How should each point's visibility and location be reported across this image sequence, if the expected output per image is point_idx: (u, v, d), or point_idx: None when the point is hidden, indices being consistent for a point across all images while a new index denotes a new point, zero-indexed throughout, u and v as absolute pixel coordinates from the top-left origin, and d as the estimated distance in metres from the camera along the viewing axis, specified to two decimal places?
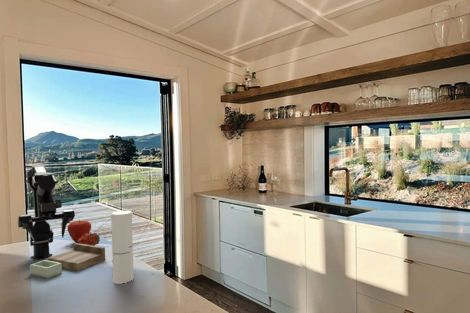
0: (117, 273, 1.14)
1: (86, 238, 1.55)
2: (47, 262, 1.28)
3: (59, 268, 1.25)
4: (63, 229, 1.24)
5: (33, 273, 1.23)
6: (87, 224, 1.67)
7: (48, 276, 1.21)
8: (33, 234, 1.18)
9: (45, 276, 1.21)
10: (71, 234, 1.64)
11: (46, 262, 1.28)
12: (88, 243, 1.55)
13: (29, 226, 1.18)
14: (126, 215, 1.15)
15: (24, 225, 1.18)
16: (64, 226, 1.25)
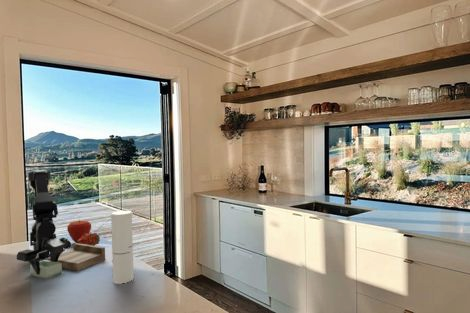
0: (117, 273, 1.14)
1: (86, 238, 1.55)
2: (47, 262, 1.28)
3: (59, 268, 1.25)
4: None
5: (33, 273, 1.23)
6: (87, 224, 1.67)
7: (48, 276, 1.21)
8: (38, 268, 1.21)
9: (45, 276, 1.21)
10: (71, 234, 1.64)
11: (46, 262, 1.28)
12: (88, 243, 1.55)
13: (36, 262, 1.20)
14: (126, 215, 1.15)
15: None
16: (57, 259, 1.28)
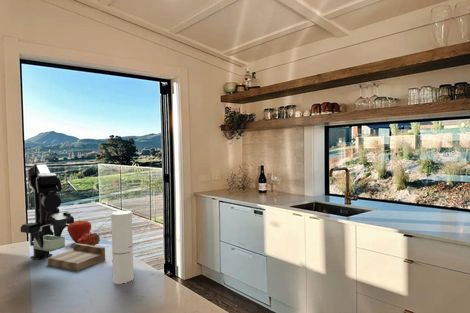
0: (117, 273, 1.14)
1: (86, 238, 1.55)
2: (50, 237, 1.29)
3: (62, 242, 1.26)
4: None
5: (37, 247, 1.25)
6: (87, 224, 1.67)
7: (51, 249, 1.22)
8: (42, 242, 1.23)
9: (48, 249, 1.22)
10: (71, 234, 1.64)
11: (49, 237, 1.29)
12: (88, 243, 1.55)
13: (40, 235, 1.21)
14: (126, 215, 1.15)
15: None
16: (60, 233, 1.29)
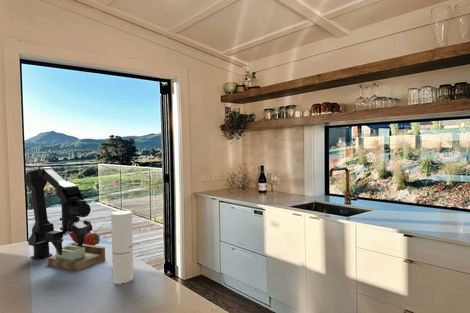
0: (117, 273, 1.14)
1: (86, 238, 1.55)
2: (71, 247, 1.38)
3: (83, 252, 1.35)
4: (81, 242, 1.39)
5: (59, 256, 1.33)
6: None
7: (73, 259, 1.30)
8: (61, 249, 1.30)
9: (70, 259, 1.30)
10: (71, 234, 1.64)
11: (70, 247, 1.38)
12: (88, 243, 1.55)
13: (59, 243, 1.28)
14: (126, 215, 1.15)
15: None
16: (83, 239, 1.39)
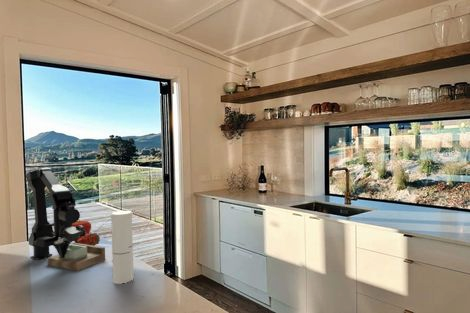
0: (117, 273, 1.14)
1: (86, 238, 1.55)
2: (73, 246, 1.39)
3: (85, 251, 1.35)
4: (65, 251, 1.31)
5: None
6: (87, 224, 1.67)
7: (75, 258, 1.31)
8: (62, 252, 1.30)
9: (73, 258, 1.31)
10: None
11: (72, 246, 1.39)
12: (88, 243, 1.55)
13: (61, 246, 1.29)
14: (126, 215, 1.15)
15: None
16: (66, 248, 1.32)
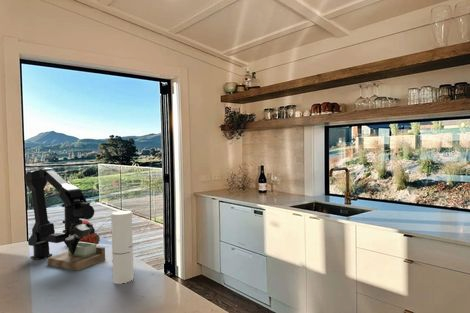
0: (117, 273, 1.14)
1: (86, 238, 1.55)
2: (82, 243, 1.43)
3: (94, 248, 1.39)
4: (74, 248, 1.35)
5: None
6: None
7: (85, 255, 1.35)
8: (73, 249, 1.35)
9: (82, 255, 1.35)
10: None
11: (81, 243, 1.43)
12: None
13: (72, 242, 1.33)
14: (126, 215, 1.15)
15: None
16: (76, 245, 1.36)
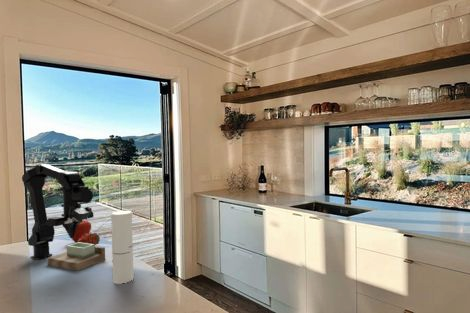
0: (117, 273, 1.14)
1: (86, 238, 1.55)
2: (81, 244, 1.42)
3: (92, 249, 1.39)
4: (74, 231, 1.36)
5: (69, 253, 1.38)
6: (87, 224, 1.67)
7: (84, 255, 1.35)
8: (72, 232, 1.35)
9: (81, 255, 1.35)
10: None
11: (80, 244, 1.42)
12: (88, 243, 1.55)
13: (70, 226, 1.34)
14: (126, 215, 1.15)
15: None
16: (75, 228, 1.37)
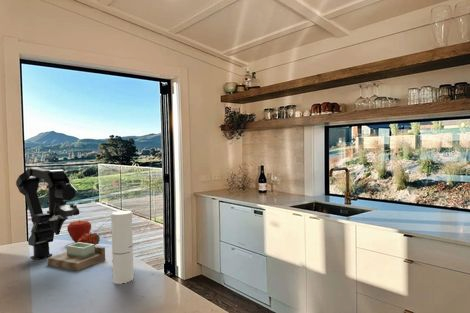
0: (117, 273, 1.14)
1: (86, 238, 1.55)
2: (81, 244, 1.42)
3: (92, 249, 1.39)
4: (59, 228, 1.38)
5: (69, 253, 1.38)
6: (87, 224, 1.67)
7: (84, 255, 1.35)
8: (57, 229, 1.37)
9: (81, 255, 1.35)
10: (71, 234, 1.64)
11: (80, 244, 1.42)
12: (88, 243, 1.55)
13: (55, 223, 1.36)
14: (126, 215, 1.15)
15: None
16: (61, 225, 1.38)
